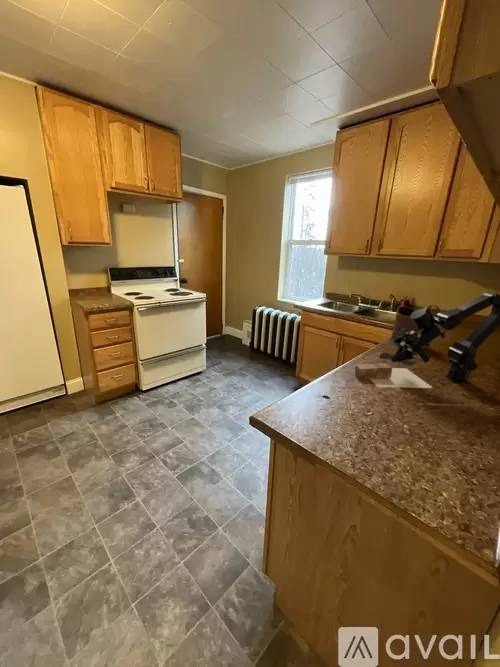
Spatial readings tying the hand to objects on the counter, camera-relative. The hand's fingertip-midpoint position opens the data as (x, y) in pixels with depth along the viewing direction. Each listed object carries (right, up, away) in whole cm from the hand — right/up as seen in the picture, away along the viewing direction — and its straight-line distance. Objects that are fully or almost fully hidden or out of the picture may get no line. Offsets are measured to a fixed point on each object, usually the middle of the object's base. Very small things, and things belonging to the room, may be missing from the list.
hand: (391, 361), depth 114 cm
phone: (+14, -2, +22) cm, 26 cm away
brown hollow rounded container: (+33, +5, +46) cm, 57 cm away
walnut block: (-1, -4, +1) cm, 4 cm away
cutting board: (+2, -7, +2) cm, 8 cm away
